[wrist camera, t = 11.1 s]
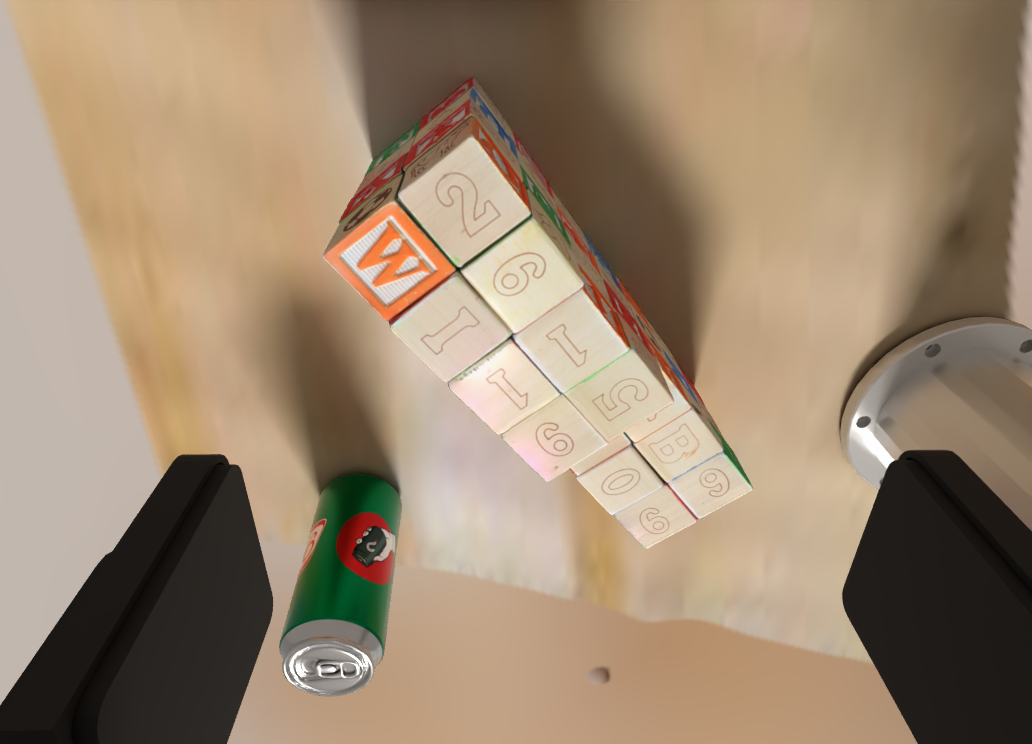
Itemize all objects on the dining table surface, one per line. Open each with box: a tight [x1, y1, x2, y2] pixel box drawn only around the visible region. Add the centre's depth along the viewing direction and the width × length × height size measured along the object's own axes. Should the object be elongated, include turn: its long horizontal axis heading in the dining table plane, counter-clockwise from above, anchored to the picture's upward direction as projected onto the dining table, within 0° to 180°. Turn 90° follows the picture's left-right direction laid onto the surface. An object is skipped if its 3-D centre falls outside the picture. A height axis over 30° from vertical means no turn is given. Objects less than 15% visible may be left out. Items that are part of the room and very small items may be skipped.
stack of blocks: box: [323, 77, 753, 549], centre depth 30 cm, size 21×6×12 cm, turn 37°
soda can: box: [279, 474, 402, 696], centre depth 37 cm, size 5×5×12 cm
